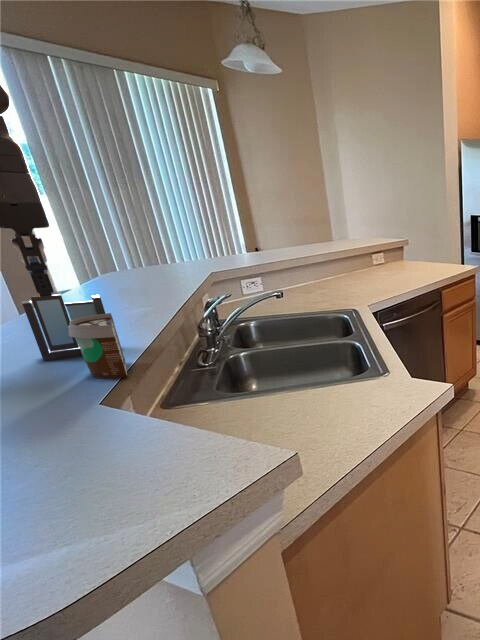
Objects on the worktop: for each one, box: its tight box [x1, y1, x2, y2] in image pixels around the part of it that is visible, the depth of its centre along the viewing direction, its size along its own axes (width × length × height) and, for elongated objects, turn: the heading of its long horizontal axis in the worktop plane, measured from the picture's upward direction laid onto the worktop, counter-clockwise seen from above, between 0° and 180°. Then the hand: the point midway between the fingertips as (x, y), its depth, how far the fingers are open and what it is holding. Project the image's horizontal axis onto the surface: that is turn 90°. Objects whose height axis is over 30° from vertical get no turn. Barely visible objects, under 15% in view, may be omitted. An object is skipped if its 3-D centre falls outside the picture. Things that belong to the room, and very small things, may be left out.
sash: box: [30, 293, 79, 351], centre depth 87 cm, size 4×1×15 cm, turn 136°
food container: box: [68, 313, 128, 380], centre depth 81 cm, size 12×6×10 cm, turn 40°
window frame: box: [21, 294, 106, 362], centre depth 90 cm, size 11×3×12 cm, turn 136°
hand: (44, 290), depth 86 cm, fingers open, 8 cm apart
